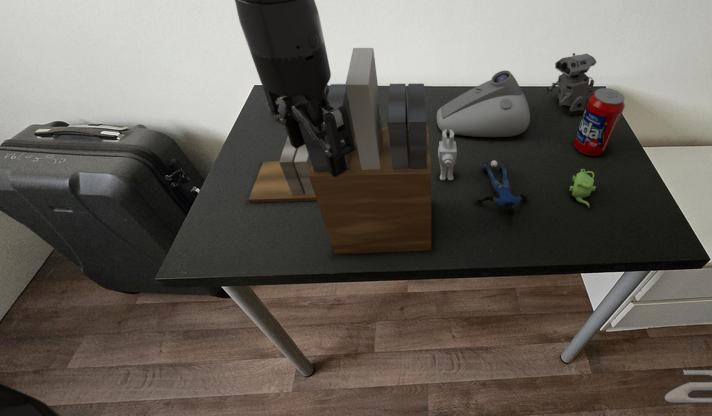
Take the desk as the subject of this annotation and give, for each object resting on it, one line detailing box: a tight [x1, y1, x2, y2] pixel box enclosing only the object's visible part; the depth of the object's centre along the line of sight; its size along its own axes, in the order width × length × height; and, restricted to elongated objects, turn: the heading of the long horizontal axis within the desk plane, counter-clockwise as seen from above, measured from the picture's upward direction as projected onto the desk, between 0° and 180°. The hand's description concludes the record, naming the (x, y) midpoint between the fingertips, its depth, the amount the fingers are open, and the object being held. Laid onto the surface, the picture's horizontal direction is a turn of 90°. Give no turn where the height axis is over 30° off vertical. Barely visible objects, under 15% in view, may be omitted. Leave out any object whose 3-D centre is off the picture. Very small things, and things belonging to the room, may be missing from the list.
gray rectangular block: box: [345, 47, 384, 170], centre depth 53 cm, size 10×3×14 cm, turn 5°
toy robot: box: [437, 129, 458, 181], centre depth 80 cm, size 4×8×12 cm, turn 3°
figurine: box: [546, 52, 597, 117], centre depth 99 cm, size 9×12×15 cm
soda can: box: [573, 87, 626, 157], centre depth 87 cm, size 8×8×15 cm
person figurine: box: [477, 159, 528, 217], centre depth 79 cm, size 11×4×18 cm
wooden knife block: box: [299, 83, 432, 255], centre depth 63 cm, size 12×18×28 cm, turn 95°
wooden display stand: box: [247, 136, 317, 204], centre depth 77 cm, size 12×14×10 cm
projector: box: [436, 69, 531, 138], centre depth 93 cm, size 22×23×15 cm
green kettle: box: [569, 168, 597, 208], centre depth 79 cm, size 6×5×6 cm
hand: (319, 158), depth 50 cm, fingers open, 8 cm apart
